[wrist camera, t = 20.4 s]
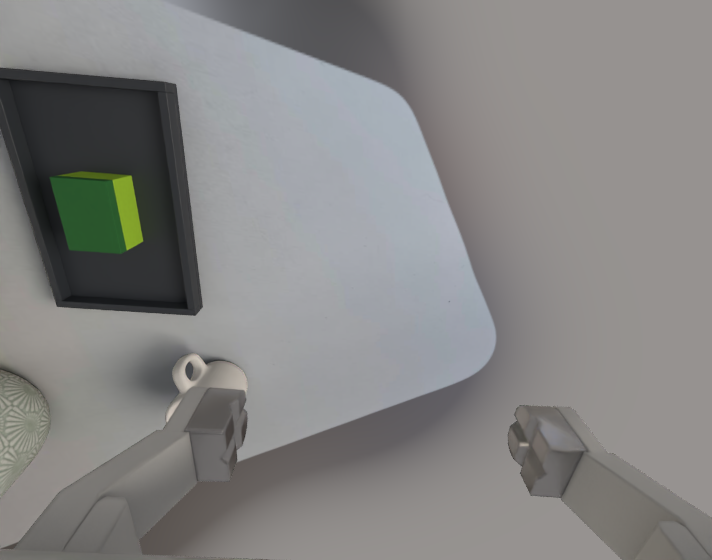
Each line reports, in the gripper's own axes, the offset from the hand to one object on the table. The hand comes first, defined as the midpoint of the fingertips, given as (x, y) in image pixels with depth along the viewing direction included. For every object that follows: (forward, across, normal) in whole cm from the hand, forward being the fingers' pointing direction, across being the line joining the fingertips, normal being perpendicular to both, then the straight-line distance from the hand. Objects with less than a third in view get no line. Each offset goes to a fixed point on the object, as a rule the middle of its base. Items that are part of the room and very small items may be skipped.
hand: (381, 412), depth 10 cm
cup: (+29, +17, +23) cm, 41 cm away
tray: (+29, +26, +2) cm, 39 cm away
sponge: (+28, +26, +2) cm, 39 cm away
